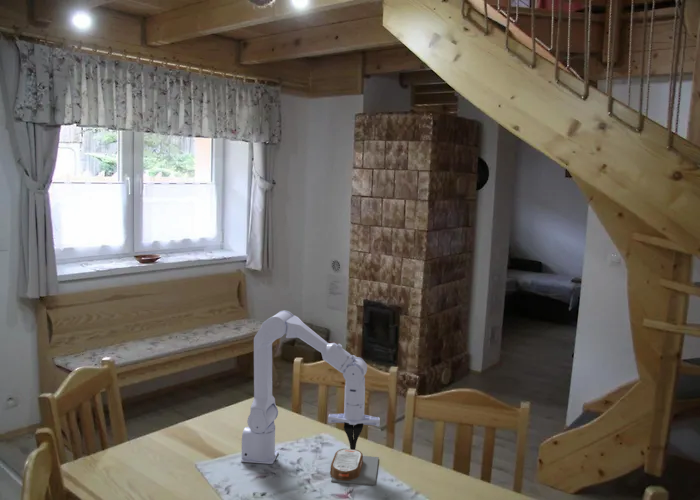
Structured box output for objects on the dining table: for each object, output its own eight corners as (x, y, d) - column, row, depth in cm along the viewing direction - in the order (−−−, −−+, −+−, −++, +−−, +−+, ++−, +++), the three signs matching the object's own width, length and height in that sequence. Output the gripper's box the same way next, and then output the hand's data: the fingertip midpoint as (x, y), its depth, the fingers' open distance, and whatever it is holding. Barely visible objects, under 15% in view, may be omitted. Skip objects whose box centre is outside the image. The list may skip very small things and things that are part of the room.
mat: (331, 481, 163) (331, 480, 163) (338, 455, 179) (338, 454, 179) (375, 485, 162) (375, 483, 162) (378, 458, 178) (378, 457, 178)
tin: (327, 479, 164) (357, 484, 163) (328, 468, 163) (359, 473, 162) (336, 454, 179) (364, 459, 177) (337, 444, 178) (365, 449, 177)
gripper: (327, 405, 165) (325, 452, 167) (379, 408, 164) (377, 456, 165) (330, 396, 172) (329, 441, 174) (380, 399, 171) (379, 445, 172)
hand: (353, 448), depth 170 cm, fingers closed
